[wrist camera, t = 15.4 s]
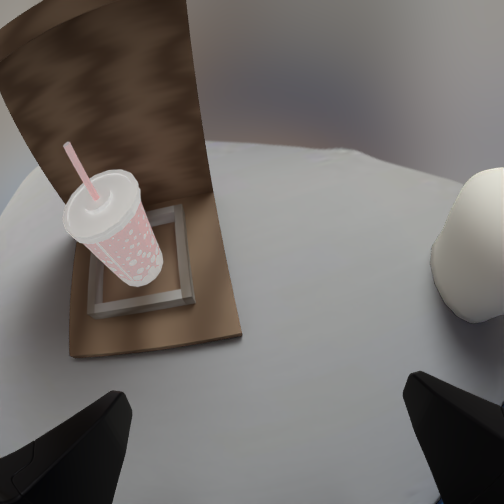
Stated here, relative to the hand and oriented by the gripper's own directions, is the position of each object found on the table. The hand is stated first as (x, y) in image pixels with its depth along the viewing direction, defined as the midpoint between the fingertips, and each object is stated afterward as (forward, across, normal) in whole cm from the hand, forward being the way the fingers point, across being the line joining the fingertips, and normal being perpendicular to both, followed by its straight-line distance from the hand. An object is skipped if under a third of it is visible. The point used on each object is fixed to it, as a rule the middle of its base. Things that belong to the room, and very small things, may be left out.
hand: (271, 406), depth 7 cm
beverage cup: (+18, +10, +1) cm, 20 cm away
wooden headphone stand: (+18, +10, +1) cm, 21 cm away
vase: (+16, -24, +3) cm, 30 cm away
